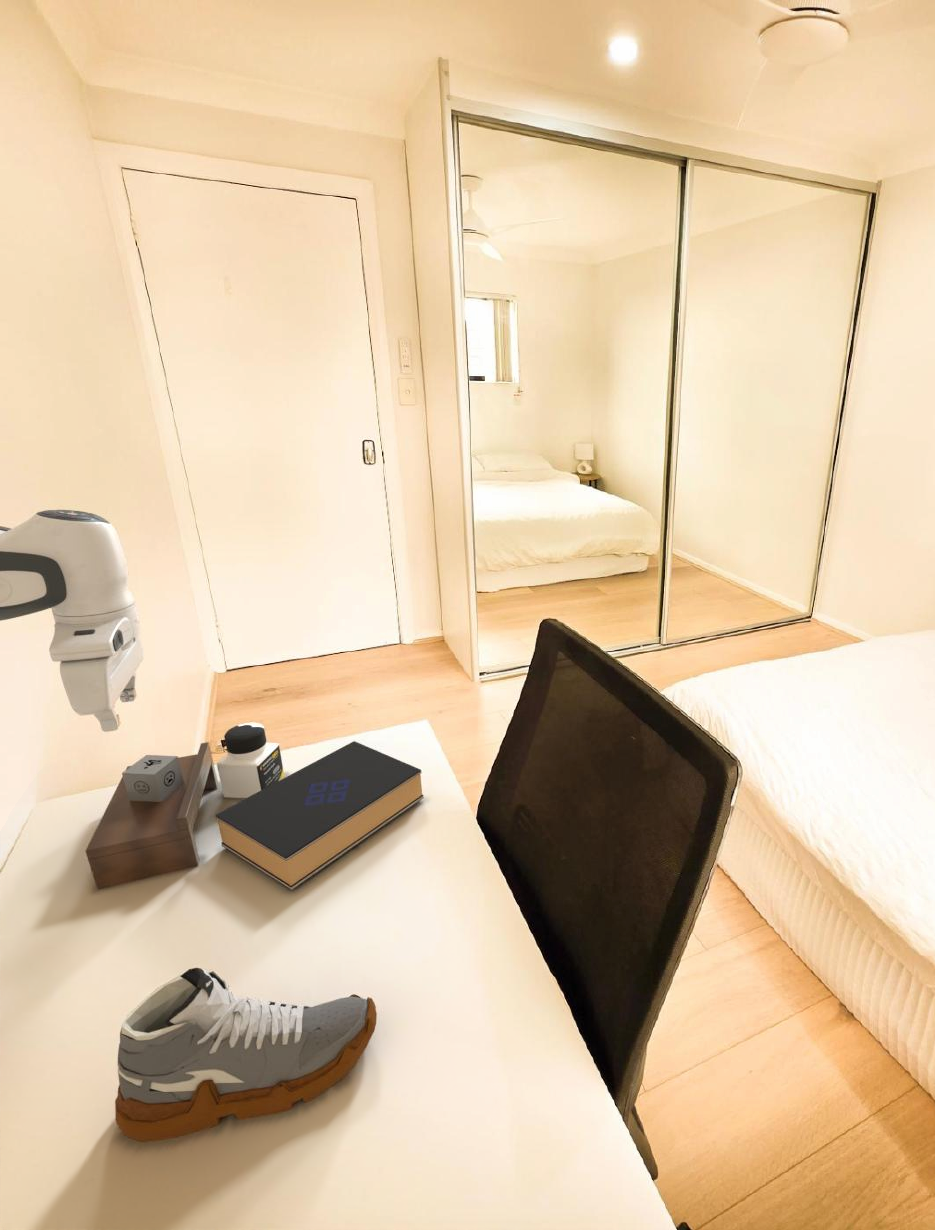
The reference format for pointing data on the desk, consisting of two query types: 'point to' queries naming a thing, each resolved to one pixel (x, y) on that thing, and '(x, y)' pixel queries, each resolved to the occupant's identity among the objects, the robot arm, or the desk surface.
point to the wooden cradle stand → (151, 828)
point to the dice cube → (153, 778)
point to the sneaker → (228, 1055)
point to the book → (319, 812)
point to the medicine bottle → (249, 761)
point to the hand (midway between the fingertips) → (121, 713)
